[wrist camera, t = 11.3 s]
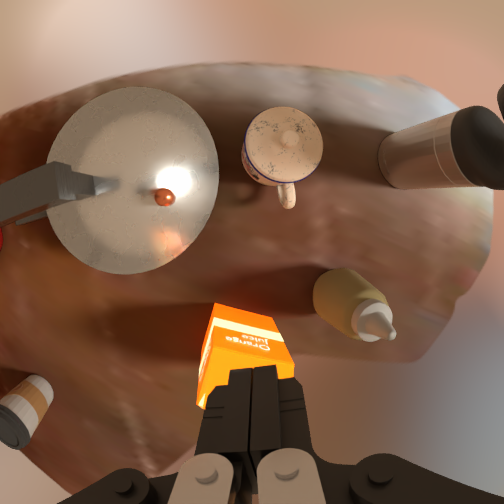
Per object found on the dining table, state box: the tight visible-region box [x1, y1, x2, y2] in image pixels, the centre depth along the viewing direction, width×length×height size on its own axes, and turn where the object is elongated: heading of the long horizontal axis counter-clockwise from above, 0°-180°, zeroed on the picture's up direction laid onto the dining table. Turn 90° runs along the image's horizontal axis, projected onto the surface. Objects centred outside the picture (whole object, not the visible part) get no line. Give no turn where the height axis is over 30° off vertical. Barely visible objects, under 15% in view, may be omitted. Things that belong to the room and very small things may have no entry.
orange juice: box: [197, 303, 295, 409], centre depth 34 cm, size 8×9×20 cm
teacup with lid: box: [241, 107, 323, 209], centre depth 36 cm, size 12×9×12 cm
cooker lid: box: [0, 87, 219, 274], centre depth 23 cm, size 26×19×9 cm
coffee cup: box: [0, 375, 53, 450], centre depth 35 cm, size 8×8×15 cm
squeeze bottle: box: [313, 268, 396, 342], centre depth 36 cm, size 8×8×18 cm
